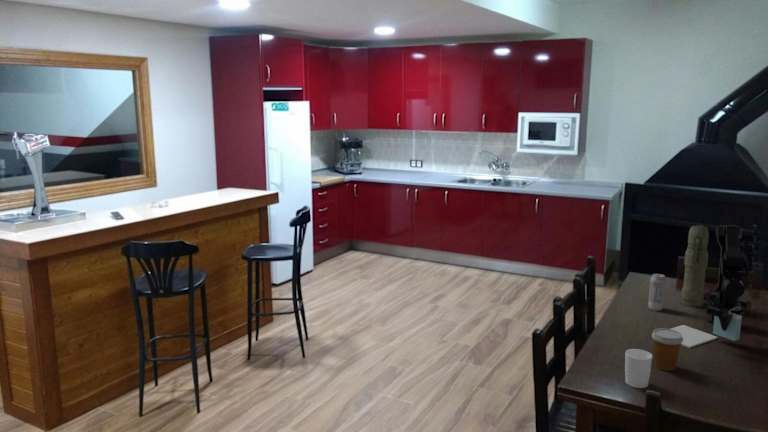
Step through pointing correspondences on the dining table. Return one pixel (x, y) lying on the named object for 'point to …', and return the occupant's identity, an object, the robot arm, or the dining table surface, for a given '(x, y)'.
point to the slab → (732, 329)
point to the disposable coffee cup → (666, 348)
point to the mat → (693, 336)
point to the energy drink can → (657, 292)
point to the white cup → (637, 367)
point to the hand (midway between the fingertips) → (726, 329)
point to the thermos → (695, 266)
